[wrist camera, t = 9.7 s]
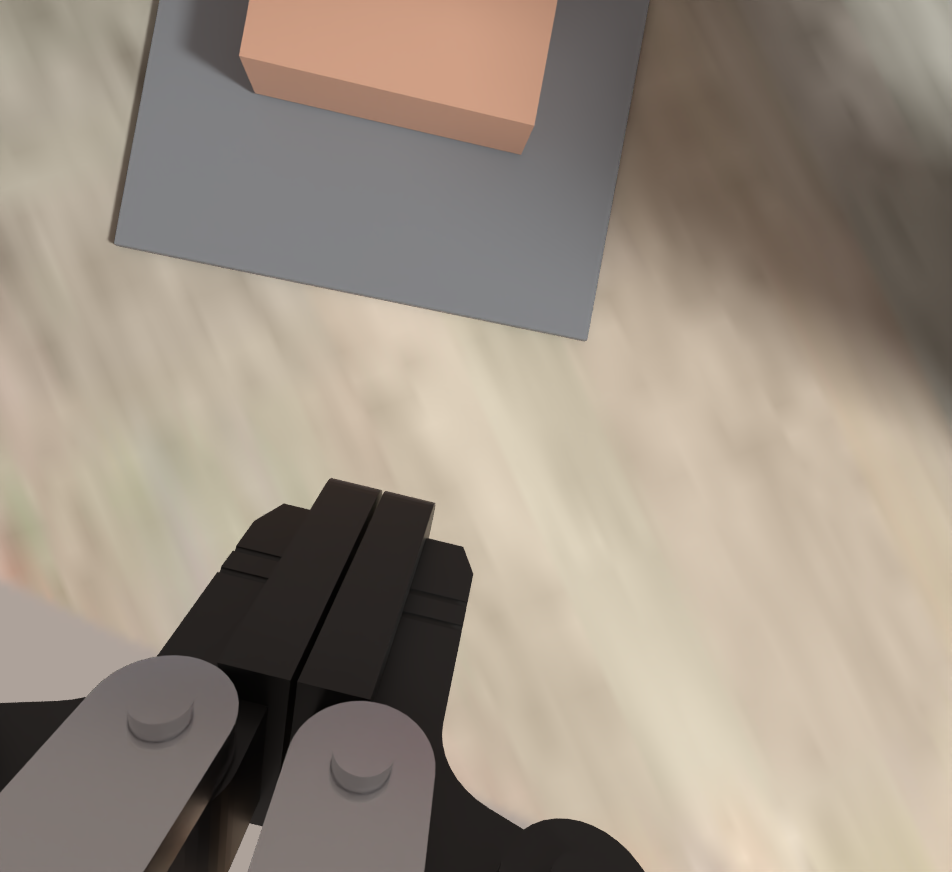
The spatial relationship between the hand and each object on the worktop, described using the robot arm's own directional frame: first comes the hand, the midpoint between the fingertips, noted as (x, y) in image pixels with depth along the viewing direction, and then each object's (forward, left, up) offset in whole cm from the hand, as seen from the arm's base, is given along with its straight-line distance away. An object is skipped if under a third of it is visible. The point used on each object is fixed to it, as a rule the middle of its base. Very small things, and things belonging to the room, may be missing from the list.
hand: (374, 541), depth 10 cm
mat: (-5, -13, -14) cm, 20 cm away
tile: (-4, -11, -13) cm, 17 cm away
